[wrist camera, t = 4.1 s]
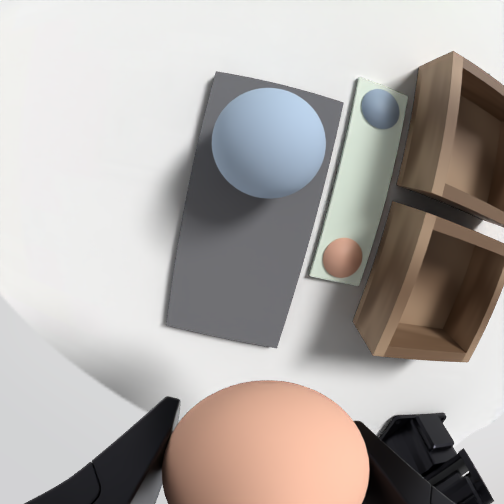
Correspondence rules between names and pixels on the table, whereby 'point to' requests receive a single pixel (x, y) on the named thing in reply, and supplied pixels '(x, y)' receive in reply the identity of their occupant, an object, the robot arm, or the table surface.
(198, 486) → the ball terracotta
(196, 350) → the table surface
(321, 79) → the table surface
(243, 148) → the ball slate
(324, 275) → the card
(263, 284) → the mat
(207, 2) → the table surface
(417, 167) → the open wooden crate
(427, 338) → the wooden cubby box
